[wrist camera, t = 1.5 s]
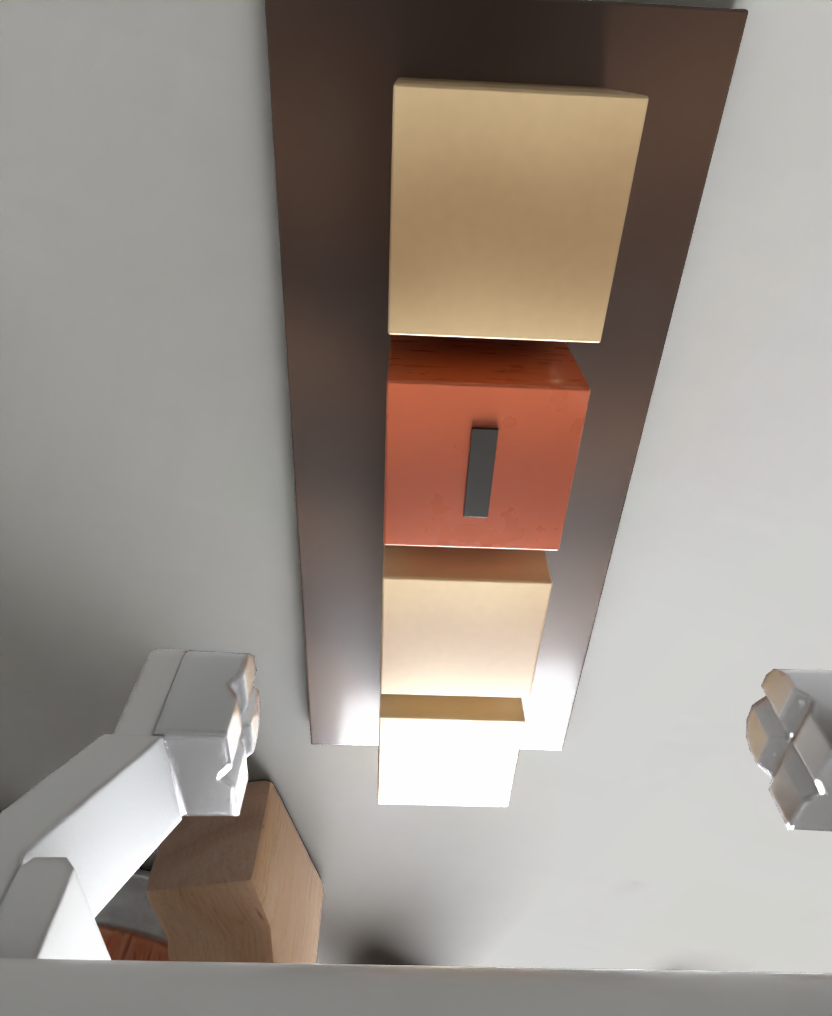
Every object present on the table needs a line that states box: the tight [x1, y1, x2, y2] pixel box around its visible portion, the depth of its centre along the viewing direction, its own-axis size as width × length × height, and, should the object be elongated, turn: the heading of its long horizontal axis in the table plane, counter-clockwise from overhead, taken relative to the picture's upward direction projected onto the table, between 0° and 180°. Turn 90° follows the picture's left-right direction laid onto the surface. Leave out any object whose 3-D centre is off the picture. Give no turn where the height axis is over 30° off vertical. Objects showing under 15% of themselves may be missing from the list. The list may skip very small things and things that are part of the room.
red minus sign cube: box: [383, 334, 591, 551], centre depth 18 cm, size 4×4×4 cm
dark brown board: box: [265, 0, 748, 807], centre depth 20 cm, size 24×10×4 cm, turn 177°
